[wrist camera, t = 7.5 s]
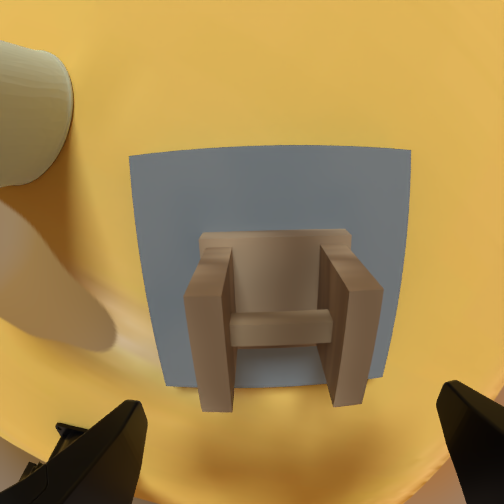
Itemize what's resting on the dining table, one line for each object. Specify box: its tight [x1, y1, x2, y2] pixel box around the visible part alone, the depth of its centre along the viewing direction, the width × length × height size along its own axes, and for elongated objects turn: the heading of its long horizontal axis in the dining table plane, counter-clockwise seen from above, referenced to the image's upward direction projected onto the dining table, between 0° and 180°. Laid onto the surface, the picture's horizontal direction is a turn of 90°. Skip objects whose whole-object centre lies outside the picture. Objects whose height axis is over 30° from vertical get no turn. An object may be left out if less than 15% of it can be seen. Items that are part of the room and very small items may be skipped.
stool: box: [183, 229, 384, 412], centre depth 14 cm, size 7×6×6 cm
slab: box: [129, 145, 411, 388], centre depth 17 cm, size 14×14×2 cm
